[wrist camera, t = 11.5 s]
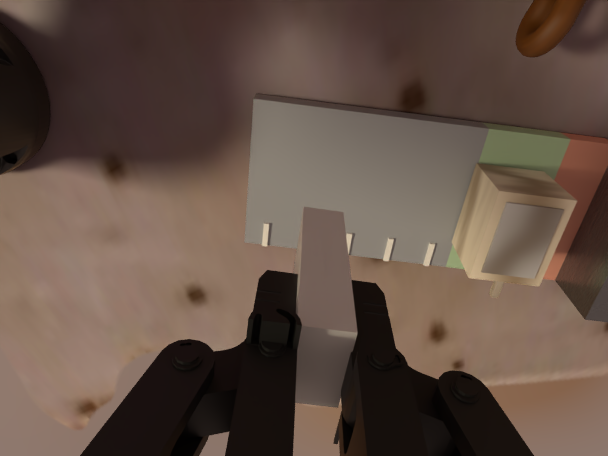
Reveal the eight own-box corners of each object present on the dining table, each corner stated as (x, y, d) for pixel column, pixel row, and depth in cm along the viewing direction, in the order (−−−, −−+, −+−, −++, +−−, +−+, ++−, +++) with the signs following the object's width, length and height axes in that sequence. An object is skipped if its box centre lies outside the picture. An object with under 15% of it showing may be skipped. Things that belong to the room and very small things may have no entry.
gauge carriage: (446, 259, 45) (462, 298, 39) (476, 163, 40) (500, 191, 34) (506, 266, 45) (531, 306, 39) (544, 171, 40) (578, 201, 35)
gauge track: (247, 232, 47) (244, 243, 45) (256, 93, 40) (253, 99, 38) (546, 269, 47) (556, 281, 45) (604, 138, 41) (619, 146, 39)
